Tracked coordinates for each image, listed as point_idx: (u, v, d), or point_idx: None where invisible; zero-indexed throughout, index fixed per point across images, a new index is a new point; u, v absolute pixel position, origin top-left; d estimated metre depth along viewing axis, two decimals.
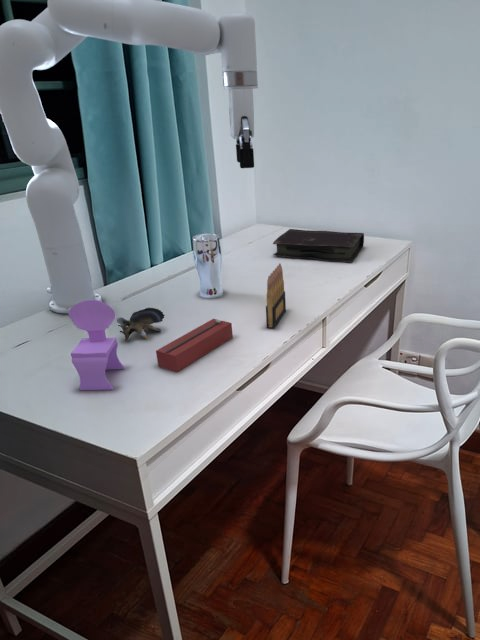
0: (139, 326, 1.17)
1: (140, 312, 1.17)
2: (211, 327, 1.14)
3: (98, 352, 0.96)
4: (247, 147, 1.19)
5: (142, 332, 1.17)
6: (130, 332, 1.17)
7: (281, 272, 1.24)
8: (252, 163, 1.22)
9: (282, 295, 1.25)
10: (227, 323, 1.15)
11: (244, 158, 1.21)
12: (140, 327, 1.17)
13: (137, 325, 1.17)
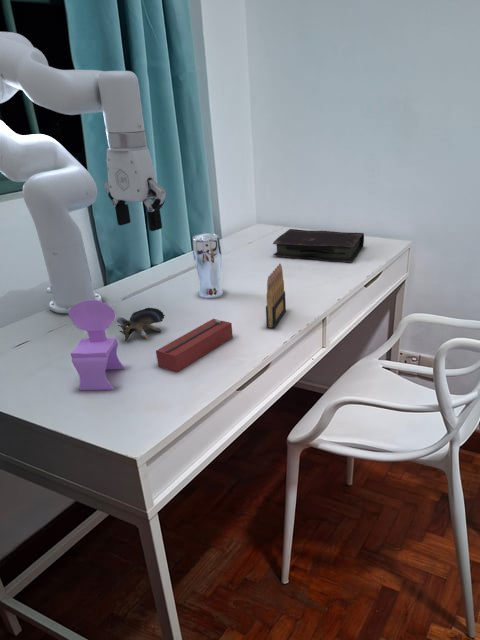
0: (139, 326, 1.17)
1: (140, 312, 1.17)
2: (211, 327, 1.14)
3: (98, 352, 0.96)
4: (158, 209, 1.13)
5: (142, 332, 1.17)
6: (130, 332, 1.17)
7: (281, 272, 1.24)
8: (160, 224, 1.16)
9: (282, 295, 1.25)
10: (227, 323, 1.15)
11: (156, 220, 1.13)
12: (140, 327, 1.17)
13: (137, 325, 1.17)
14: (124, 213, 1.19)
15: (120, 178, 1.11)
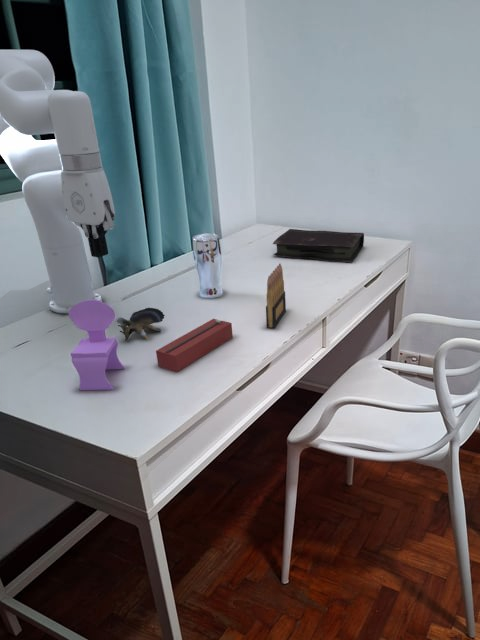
0: (139, 326, 1.17)
1: (140, 312, 1.17)
2: (211, 327, 1.14)
3: (98, 352, 0.96)
4: (103, 235, 1.12)
5: (142, 332, 1.17)
6: (130, 332, 1.17)
7: (281, 272, 1.24)
8: None
9: (282, 295, 1.25)
10: (227, 323, 1.15)
11: (101, 247, 1.13)
12: (140, 327, 1.17)
13: (137, 325, 1.17)
14: None
15: (75, 201, 1.07)
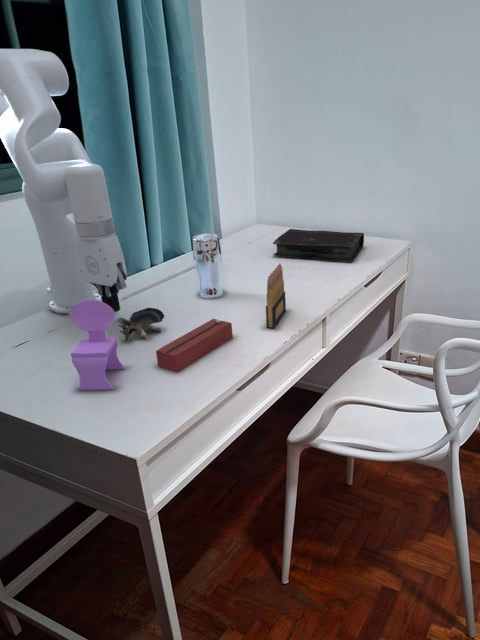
0: (139, 326, 1.17)
1: (140, 312, 1.17)
2: (211, 327, 1.14)
3: (98, 352, 0.96)
4: (115, 293, 1.18)
5: (142, 332, 1.17)
6: (130, 332, 1.17)
7: (281, 272, 1.24)
8: None
9: (282, 295, 1.25)
10: (227, 323, 1.15)
11: (113, 304, 1.19)
12: (140, 327, 1.17)
13: (137, 325, 1.17)
14: None
15: (90, 263, 1.13)
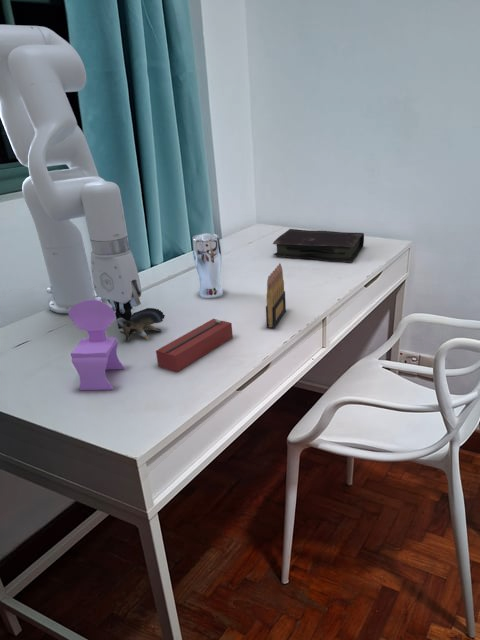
0: (139, 326, 1.17)
1: (140, 312, 1.17)
2: (211, 327, 1.14)
3: (98, 352, 0.96)
4: (129, 309, 1.18)
5: (142, 332, 1.17)
6: (130, 332, 1.17)
7: (281, 272, 1.24)
8: None
9: (282, 295, 1.25)
10: (227, 323, 1.15)
11: (127, 320, 1.19)
12: (140, 328, 1.17)
13: (137, 325, 1.17)
14: None
15: (104, 280, 1.13)
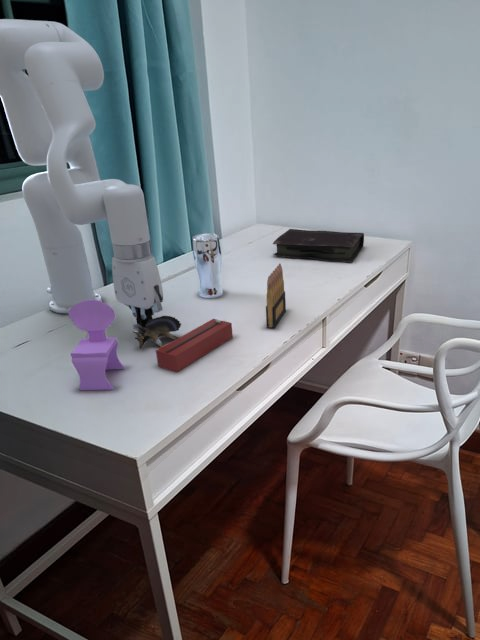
0: (154, 334, 1.13)
1: (156, 320, 1.13)
2: (211, 327, 1.14)
3: (98, 352, 0.96)
4: (150, 315, 1.15)
5: (157, 340, 1.13)
6: (145, 339, 1.14)
7: (281, 272, 1.24)
8: None
9: (282, 295, 1.25)
10: (227, 323, 1.15)
11: None
12: (155, 335, 1.13)
13: (152, 333, 1.13)
14: None
15: (126, 285, 1.10)
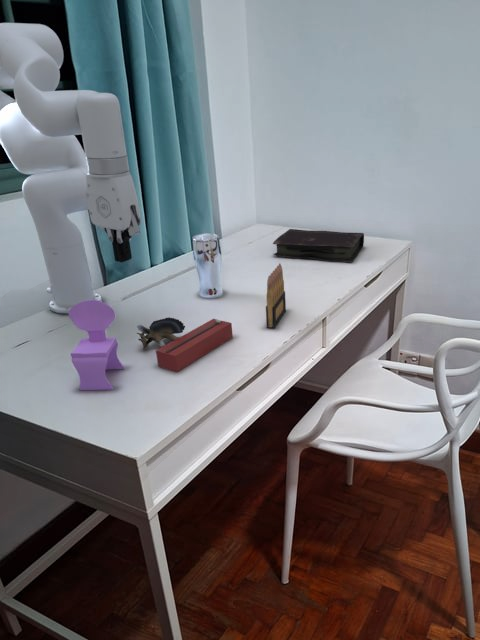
0: (158, 335, 1.12)
1: (160, 321, 1.12)
2: (211, 327, 1.14)
3: (98, 352, 0.96)
4: (127, 240, 1.10)
5: (160, 342, 1.12)
6: (149, 341, 1.13)
7: (281, 272, 1.24)
8: (130, 254, 1.13)
9: (282, 295, 1.25)
10: (227, 323, 1.15)
11: (125, 251, 1.10)
12: (159, 337, 1.12)
13: (156, 334, 1.12)
14: None
15: (101, 205, 1.05)
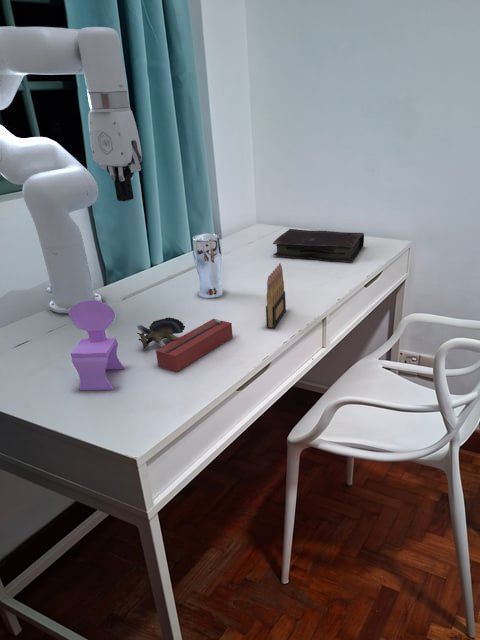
0: (158, 335, 1.12)
1: (160, 321, 1.12)
2: (211, 327, 1.14)
3: (98, 352, 0.96)
4: (129, 178, 1.12)
5: (160, 342, 1.12)
6: (149, 341, 1.13)
7: (281, 272, 1.24)
8: (131, 194, 1.15)
9: (282, 295, 1.25)
10: (227, 323, 1.15)
11: (127, 190, 1.13)
12: (159, 337, 1.12)
13: (156, 334, 1.12)
14: None
15: (103, 141, 1.07)
